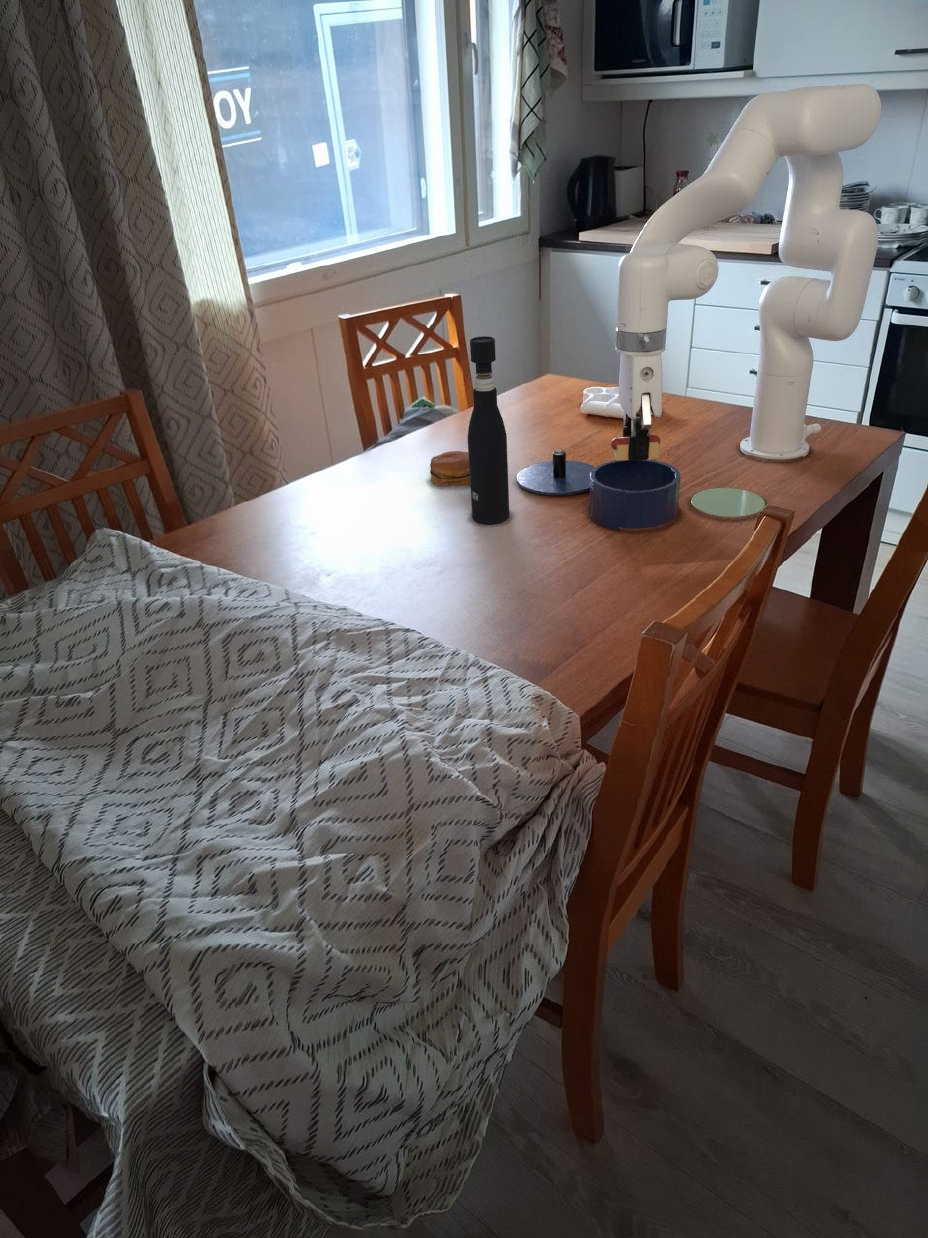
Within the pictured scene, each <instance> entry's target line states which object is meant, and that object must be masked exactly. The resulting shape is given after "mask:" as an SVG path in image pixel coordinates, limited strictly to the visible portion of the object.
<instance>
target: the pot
mask: <svg viewBox="0 0 928 1238" xmlns="http://www.w3.org/2000/svg"><path fill="white" fill-rule="evenodd" d="M680 489H681V472H680V471H679V470H678V468H676V467H675V466H673V465H671V464H669V463H666V462H663V461H659V460H655V459H649V458H648V459H647V460H638V461H630V460H620V461H617V459H615V460H610V461H606V462H603V463H601V464H599V465H597V466H595V468H594V469H593V470H592V471H591V474H590V490H589V517H590V519H591V520H592V521H593V522H594V523H595V524H597V525H598V526H601V527H602V528H605V529H608V530H612V531H617V532H621V529H627V530H628V529H630V530H631V529H633V530H635V529H636V530H642V529H650V528H656V527H660V526H663V525H666V524H668V523H670V522H672V521H673V520H674V519H675V518H676V517H677V516H678V514H679V505H680V504H679V503H680Z"/></svg>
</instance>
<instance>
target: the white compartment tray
mask: <svg viewBox="0 0 928 1238" xmlns="http://www.w3.org/2000/svg"><path fill="white" fill-rule="evenodd" d="M582 397H583V398H582V403H581V405H580V406H579V412H580V413H581V414H583V415H593V416H600V417H605V418H613V419H614V418H615V419H624V409H623V408H622V407H621V405H620V402H619V386H612V387H609V386H608V387H604V386H603V387H602V386H590V387H587V388H585V389H584V390H583V393H582ZM651 416H654V415H653V414H652V412H651Z"/></svg>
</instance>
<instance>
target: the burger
mask: <svg viewBox="0 0 928 1238" xmlns="http://www.w3.org/2000/svg"><path fill="white" fill-rule="evenodd" d="M429 468H430V471H429V474H430V483H432V484H433V485H435V486H437V487H442V488H443V487H444V488H447V487H449V488H450V487H451V486H452V487H463V486H470V472H469V455H468V451H464V450H463V451H462V450H451V451H446V452H442V453H441V454H438V455H435V456H432V458H431V459H430V464H429Z"/></svg>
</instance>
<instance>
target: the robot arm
mask: <svg viewBox="0 0 928 1238" xmlns="http://www.w3.org/2000/svg"><path fill="white" fill-rule="evenodd" d="M881 116H882V101H881V97H880V95H879V93H878V91H877V90H876V89H875V88H874V87H873V86H872V85H869V84H865V83H858V84H856V83H855V84H838V85H836V84H835V85H815V86H814V85H813V86H802V87H796V88H793V89H792V88H791V89H788V90H782V91H781V90H780V91H779V90H778V91H769V92H764V93H760V94H758V95H756V96H754V97H753V98H752V99H750V100H749V101H748V102H747V103H746V104H745V105H744V107H743V108H742V110H741V112H740V113H739V115H738V116H737V118H736V120H735V121H734V124H733V125H732V127H731V128H730V130H729V132H728V134H726V137H725V138H724V140H723V141H722V143H721V145H720V147H719V148H718V150H717V151H716V153H715V155H714V156H713V158H712V159H711V161H710V163H709V164H708V166H707V168H706V170H705V171H704V172H703V174H702V175H701V176H699V177H698V178H696V179H695V180H693V181H692V182H691V183H689V184H688V185H686V186H685V187H683V188H682V189H681V190H680V191H678V192H677V193H676V194H675V195H673V196H672V197H670V199H668V200H666V201H665V202H664V203H663V204H661V206H659V208H658V209H657V210H656V211H655V212H654V213H653V214H652V215H651V216H650V218H649V219H648V220H647V222H646V223H645V224H644V226H643V228H642V229H641V231H640V233H639V235H638V237H637V238H636V240H635V242H634V244H633V245H632V247H631V250H630V252H628V253H626V254H624V255H622V257H621V258H620V260H619V262H618V269H617V292H616V293H617V296H616V297H617V298H616V302H617V303H616V323H615V348H614V349H615V350H614V351H615V352H616V353H618V354H620V358H619V359H620V361H619V374H618V387H619V402H620V405H621V407H622V408H623V409H624V419H623V421H622V422H623V423H622V424H623V426H622V437H629V450H628V459H629V460H630V461H638V460H647V459H648V460H649V459H650V458H649V442H650V435H651V428H652V427H653V425H652V424H653V423H652V416H654V418H656V419H660V418H661V416H662V413H663V358H662V353H664V352H665V351H666V346H667V330H668V317H669V315H668V313H669V303H670V302H671V301H686V300H687V301H689V300H690V301H691V300H695V299H698V298H700V297H703V296H704V295H706V294H707V293H709V292H710V290H711V289H713V287H714V286H715V284H716V282H717V279H718V276H719V271H720V270H719V267H720V266H719V262H718V259H717V257H716V255H715V254H714V253H713V251H711V250H710V249H708V248H706V247H704V246H702V245H701V246H700V245H697V244H696V245H695V244H684V243H680V242H681V241H682V240H683V239H685V238H686V237H687V236H689V235H691V234H692V233H694V232H695V231H697V230H699V229H701V228H704V227H706V226H708V225H712V224H713V223H716V222H717V223H718V222H721V221H722V220H725V219H727V218H730V217H732V216H735V215H737V214H739V213H742V212H743V211H744V210H746V209H748V208H749V207H750V206H751V204H752V203H753V201H754V200H755V198H756V196H757V195H758V193H759V191H760V190H761V188H762V186H763V184H764V183H765V181H766V180H767V178H768V176H769V175H770V173H771V171H772V170H773V169H774V166H775V165H776V164H777V162H778V160H779V159H781V158H783V157H784V159H785V161H786V165H787V170H788V187H787V193H786V200H785V204H784V210H783V217H782V222H781V228H780V235H779V241H778V257H779V260H780V261H781V262H782V263H783V264H784V265H786V266H789V267H791V268H796V269H804V270H813V271H822V272H830V279H822V278H816V277H806V276H797V275H795V276H794V275H787V276H781V277H777V278H776V279H773V280H772V281H770V282H769V283H767V284H766V286H765V287H764V289H762V290H763V291H762V292H761V295H760V298H759V301H758V302H759V303H758V323H759V352H758V361H757V371H756V378H755V388H754V395H753V405H752V415H751V422H750V430H749V436H747V437H745V438H743V439H742V440H741V441H740V444H739V445H740V446H739V450H740V451H741V452H742V454H744V455H745V456H752V457H756V458H759V459H760V458H761V459H766V460H791V459H797V458H800V457H803V458H804V457H806V456H807V455H808V454H809V452H810V444H809V443H808V442H807V441H806V439H807V438H809V436H813V435H817V434H820V433H821V431H822V426H821V425H820V424H819V423H813V424H809V425H806V423H805V421H806V414H807V408H808V400H809V395H810V387H811V381H812V374H813V370H814V369H813V368H814V359H815V357H814V350H813V347H812V343H811V341H810V339H814V340H815V339H816V340H822V341H830V342H840V341H844V340H847V339H848V338H849V337H851V336H852V335H853V334H854V333H855V331H856V330H857V328H858V326H859V324H860V321H861V319H862V317H863V312H864V308H865V304H866V300H867V296H868V291H869V286H870V282H871V277H872V274H873V269H874V266H875V265H874V264H875V260H876V257H877V256H876V255H877V251H878V245H879V228H878V223H877V221H876V219H875V217H874V216H873V215H871V214H870V213H869V212H867V211H864V210H859V209H845V208H843V209H842V208H841V207H840V205H841V204H840V203H841V197H842V190H843V186H844V185H843V184H844V177H845V173H844V165H843V162H842V158H841V156H840V154H839V153H841V152H846V151H847V152H848V151H851V150H856V149H857V148H860V147H862V146H864V145H865V144H866V143H867V142H868V141H869V140H870V139H871V138H872V136H873V135H874V134H875V132H876V130H877V129H878V126H879V123H880V120H881ZM651 412H652V414H653V415H651Z"/></svg>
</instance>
